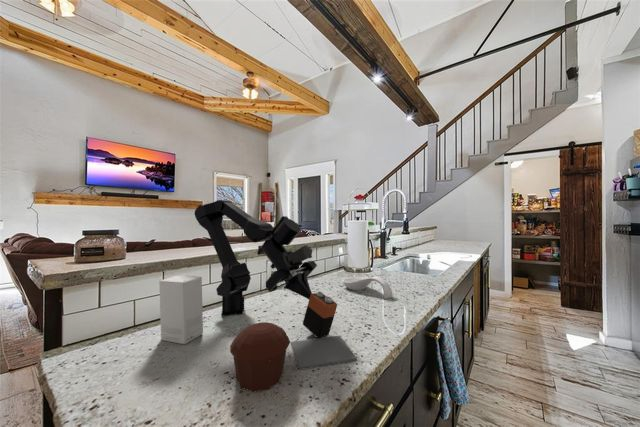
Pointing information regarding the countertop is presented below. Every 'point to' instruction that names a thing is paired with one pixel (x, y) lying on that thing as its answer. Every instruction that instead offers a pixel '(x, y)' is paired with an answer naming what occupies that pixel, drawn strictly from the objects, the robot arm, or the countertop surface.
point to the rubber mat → (321, 352)
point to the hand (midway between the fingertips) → (311, 298)
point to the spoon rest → (364, 282)
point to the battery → (319, 314)
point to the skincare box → (181, 308)
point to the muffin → (259, 355)
